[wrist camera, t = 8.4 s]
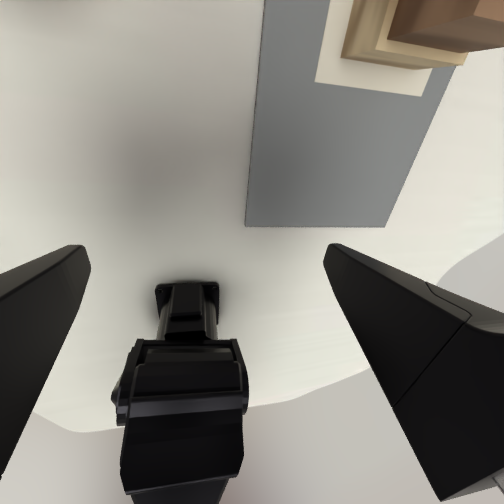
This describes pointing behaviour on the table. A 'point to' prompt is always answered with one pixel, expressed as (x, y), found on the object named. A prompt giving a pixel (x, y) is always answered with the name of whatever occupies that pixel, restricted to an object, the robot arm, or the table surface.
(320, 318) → the table surface
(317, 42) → the mat
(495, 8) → the walnut cube
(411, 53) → the oak base block
